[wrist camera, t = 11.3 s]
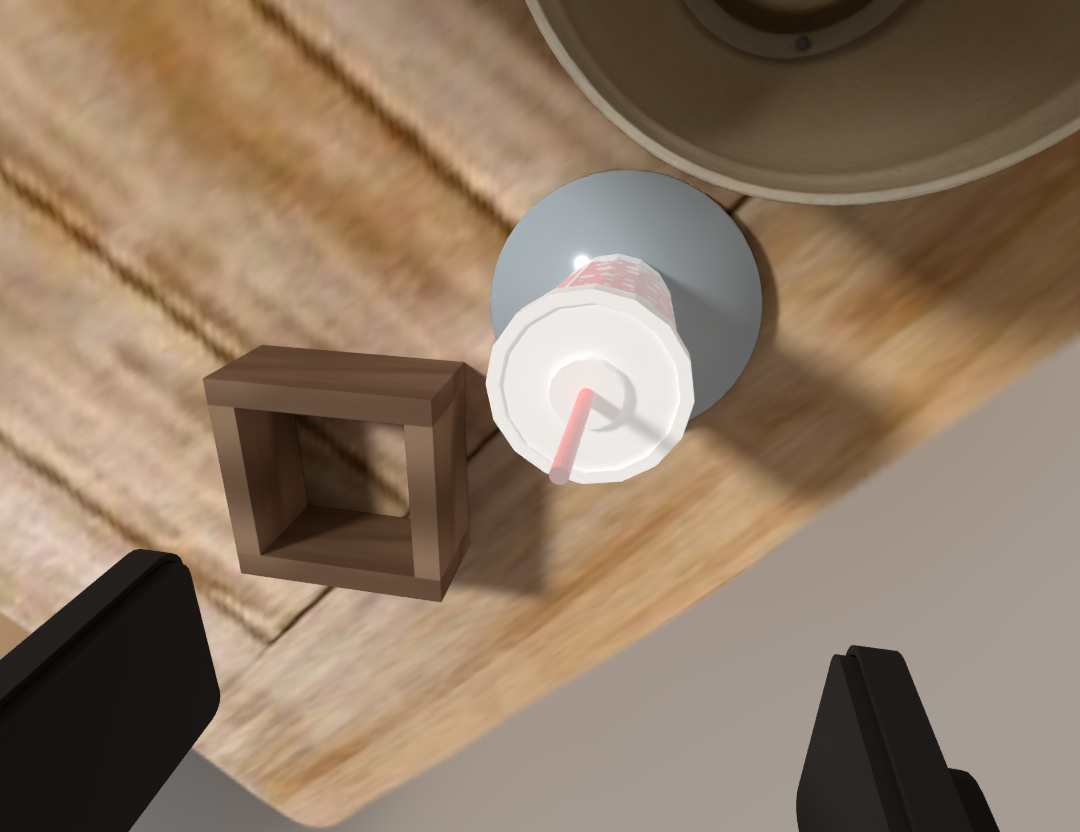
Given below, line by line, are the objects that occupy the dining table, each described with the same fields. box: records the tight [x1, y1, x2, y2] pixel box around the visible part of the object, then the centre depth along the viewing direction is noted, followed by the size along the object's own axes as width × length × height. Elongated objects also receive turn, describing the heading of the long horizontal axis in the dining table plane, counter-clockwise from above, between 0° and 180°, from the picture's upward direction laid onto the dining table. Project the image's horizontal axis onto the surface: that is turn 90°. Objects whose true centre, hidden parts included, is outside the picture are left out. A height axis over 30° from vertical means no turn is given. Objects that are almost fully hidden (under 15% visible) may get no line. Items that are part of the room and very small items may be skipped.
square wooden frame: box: [203, 345, 469, 602], centre depth 32 cm, size 10×10×4 cm
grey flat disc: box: [491, 169, 762, 421], centre depth 28 cm, size 11×11×1 cm
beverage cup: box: [486, 254, 695, 485], centre depth 22 cm, size 6×6×14 cm
